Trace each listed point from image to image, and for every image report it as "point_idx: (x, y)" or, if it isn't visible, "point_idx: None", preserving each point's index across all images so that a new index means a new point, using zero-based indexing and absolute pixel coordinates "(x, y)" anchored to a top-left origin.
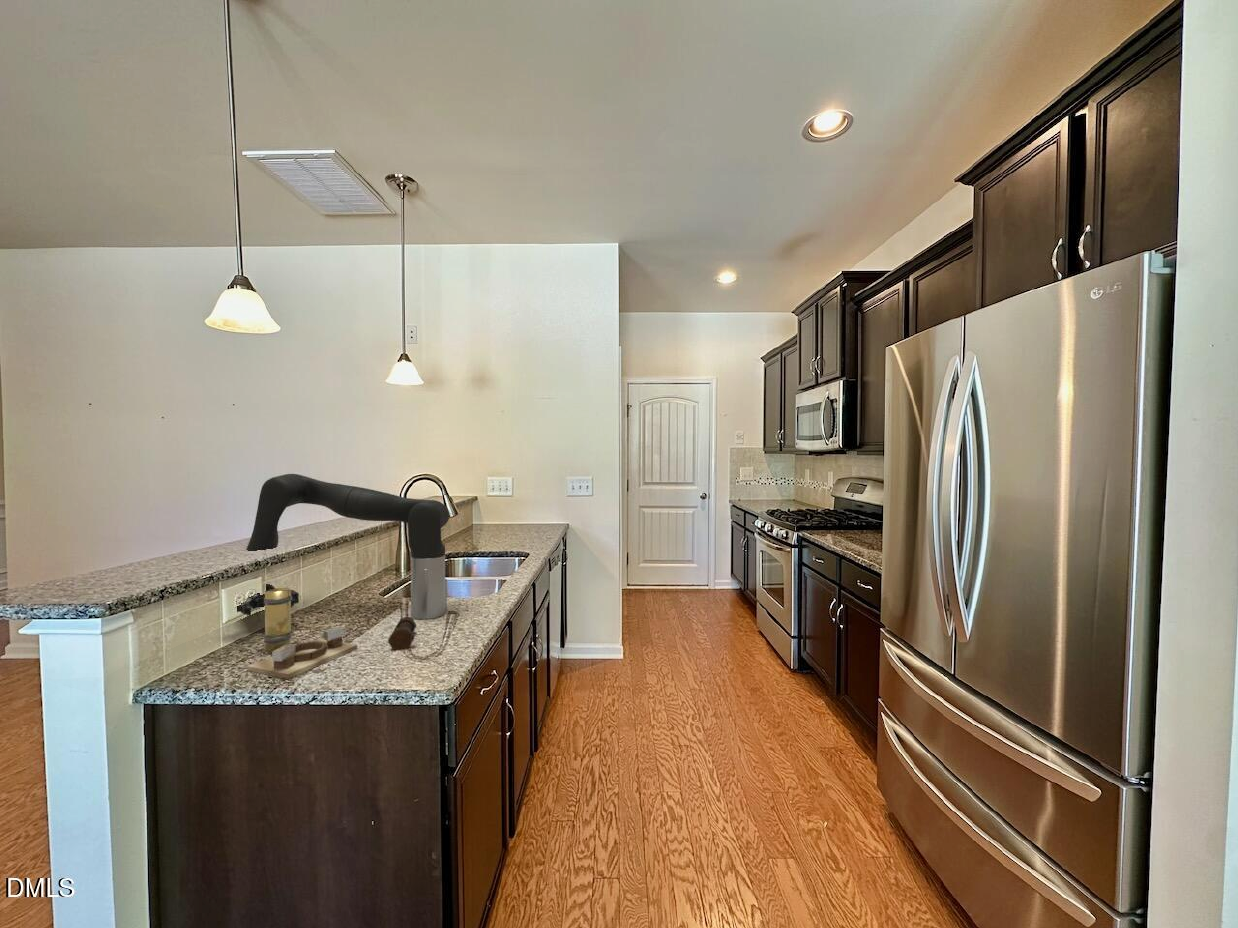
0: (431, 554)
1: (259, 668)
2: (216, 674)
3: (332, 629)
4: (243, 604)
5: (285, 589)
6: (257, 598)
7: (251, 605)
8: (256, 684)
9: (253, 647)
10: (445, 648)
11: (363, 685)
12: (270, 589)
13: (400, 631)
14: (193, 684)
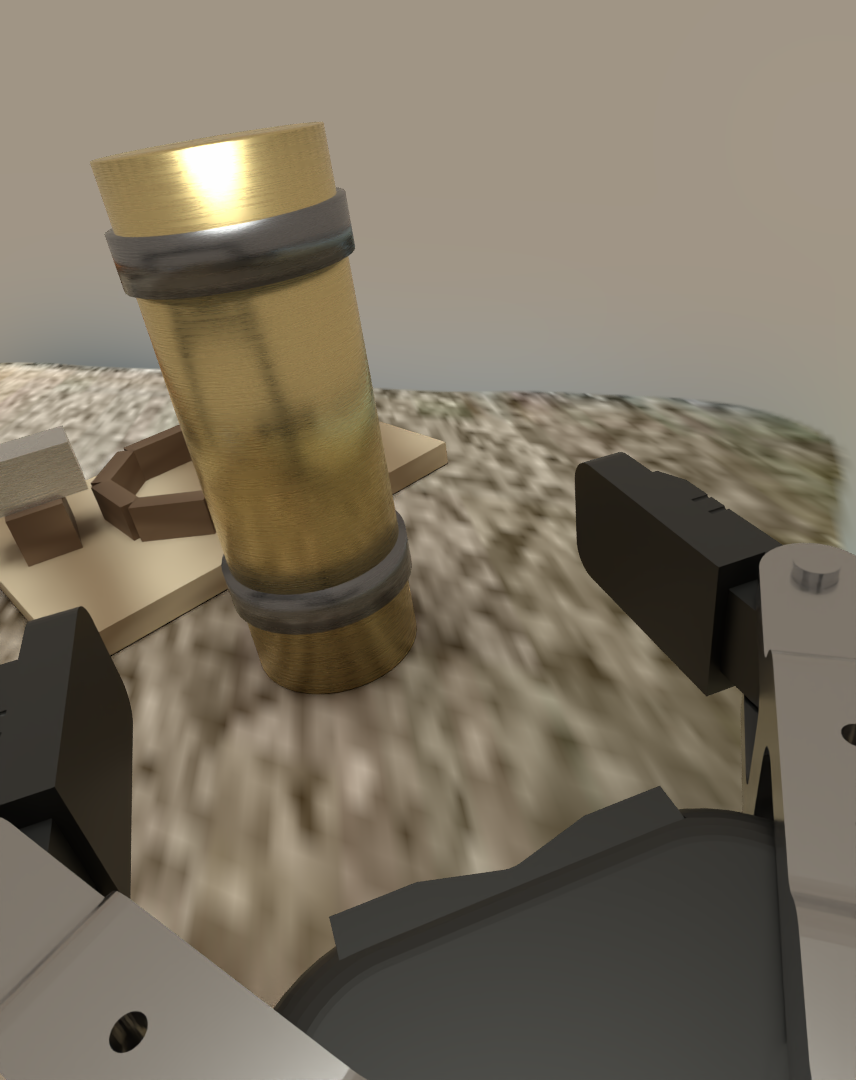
0: None
1: (389, 425)
2: (570, 454)
3: (21, 448)
4: (785, 556)
5: (141, 152)
6: (748, 902)
7: (753, 777)
8: (387, 399)
9: (520, 706)
10: None
11: (114, 380)
12: (274, 135)
13: None
14: (618, 412)
